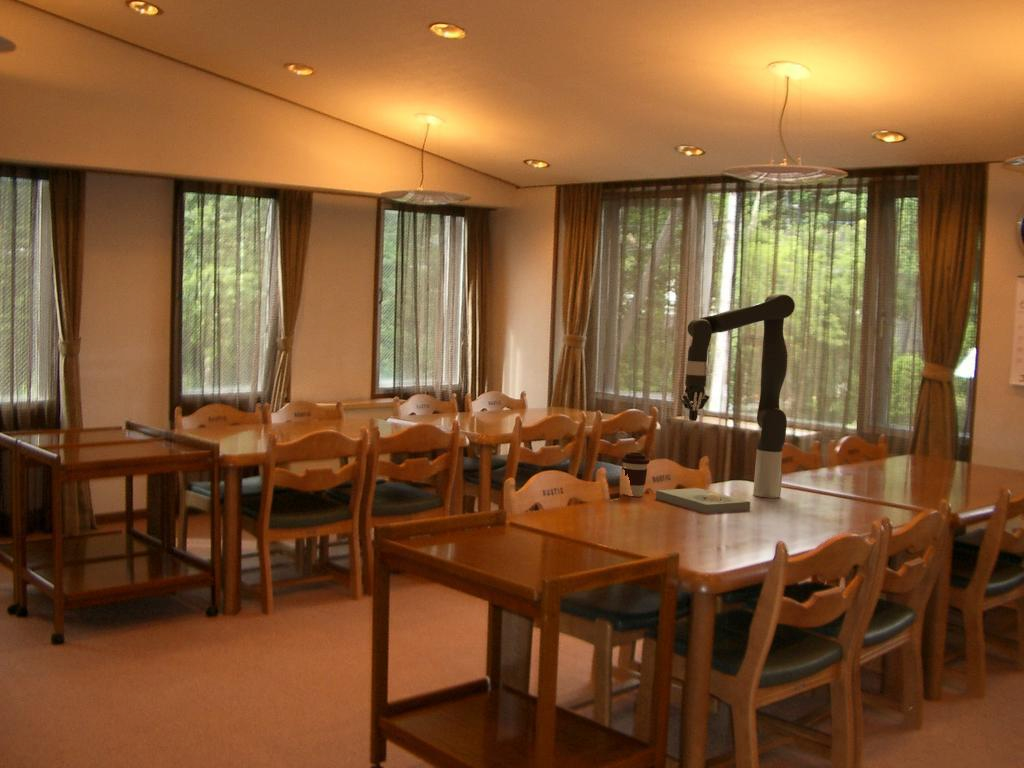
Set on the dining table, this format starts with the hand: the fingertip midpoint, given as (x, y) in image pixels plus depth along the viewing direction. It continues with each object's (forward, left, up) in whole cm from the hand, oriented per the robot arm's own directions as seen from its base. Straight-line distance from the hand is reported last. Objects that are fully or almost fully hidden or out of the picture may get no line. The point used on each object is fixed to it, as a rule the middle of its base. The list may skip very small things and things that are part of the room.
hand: (692, 420), depth 382 cm
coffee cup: (+24, -2, -27) cm, 36 cm away
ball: (+10, +24, -24) cm, 36 cm away
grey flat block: (+10, +19, -27) cm, 34 cm away
